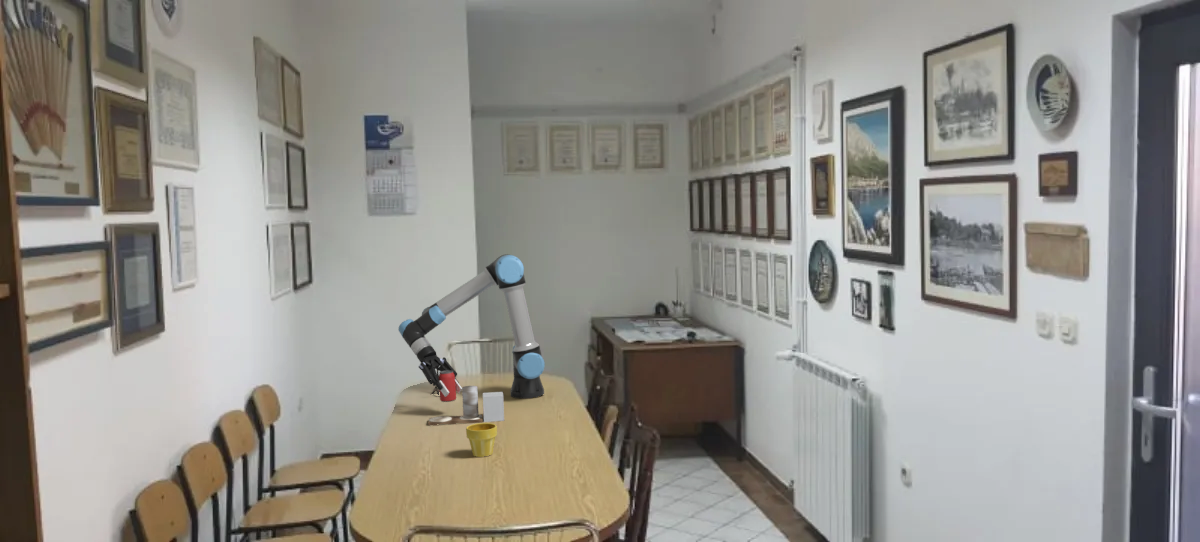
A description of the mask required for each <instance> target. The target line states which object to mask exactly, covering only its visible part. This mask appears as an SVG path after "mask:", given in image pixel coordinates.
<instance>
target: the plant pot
mask: <svg viewBox="0 0 1200 542" xmlns="http://www.w3.org/2000/svg"><path fill="white" fill-rule="evenodd" d="M465 432H466V438H467V439H468V441H469V445H470V449H471V452H472V456H473V457H475V456H476V458H485V457H484V456H487V457H490V456H492V455H493V454H494V448H495V446H494V445H495V443H496V442H495V440H496V438H497V435H498V426H497V425H496V424H495V423H492V422H479V423H472V424H469V425H468V426H466V427H465ZM489 455H490V456H489Z"/></svg>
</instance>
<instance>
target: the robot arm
mask: <svg viewBox="0 0 1200 542" xmlns="http://www.w3.org/2000/svg"><path fill="white" fill-rule="evenodd" d="M524 271H525V267H524V264H523V262H522V261H521V259H520V258H519V257H517V256H515V255H513V254H508V253H507V254H502V255H499V256H498V257H496V259H495V260H494V261H492V262H491V263H490V264H488V265H486V266H485V267H484V270H483V271H482V272H480V273H479V274H478V275H477V274H476V275H475V276H474V277H473V278H471V279H469V280H468V281H467V282H465V283H463V284H462V285H460V286H459V287H457V288H456V289H454V290H453V291H451V292H450V293H448V294H446V295H445V296H444V297H442V298H440V299H439V300H438V301H436V302H435V303H433V304H431V305H430V306H427V307H426V308H424V309H423V310H422V312H421V315H420V316H418V318H417V319H415V320H414V319H411V318H409V319H408V318H407V319H406V320H403V321H402V322H401V323H400V324H399V326H398V332H399V334H400V336H401V337H402V339H403V340H404V342H405V343H406V344H407V345H408V347H409V348H410V349H411V351H412V352H413V353H414V355H415V356H416V358H417V359H418V361H419V362H420V364H419V365H418V368H419V369H420V370H421V372H422V373H423V375H424V377H425V378H426V381H428V383H429V385H432V386H434V387H435V386H437V388H438V389H439V390H441V392H442V393H443V395H444V396H445V397H447V395H448V394H449V391H448V390H447V388H446V387H445V385H444V384H443V383H442V381H441V380H440V381H439V379H438V376H437V370H438V372H441V371H446V370H452V371H453V373H454V375H455V386H456V393H458V394H460V393H462V386H461V384H460V382H459V380H457V378H456V377H457V376H458V373H457V372H456V370H455V369H454V368H453V367H452V366H451V364H450V363H449V362H448V360H447V359H446V357H442V358H441V357H439V356H438V355H437V351H436V349H434V347H433V346H432V344H431V343H430V342H429V340H428V339H427V338H426V335H427V334H429V333H430V332H431V331H432V330H434V329H435V328H437V326H439V325H441V324H442V323H443V322H444V321H445V320H446V319H447V316H449V315H450V314H452V313H453V312H455V311H456V310H458V309H460V308H461V307H462V306H464V305H466V304H467V303H468V302H470V301H472V300H474V298H475V299H476V297H478V296H479V295H481V294H482V293H484V292H485V291H487V290H488V289H490V288H491V287H494V286H495V287H497V286H498V290H500V291H502V292H503V295H504V296H503V297H504V300H505V304H506V308H507V309H506V310H507V313H508V319H509V322H510V327H511V331H512V336H513V340H514V344H515V345H513V347H512V352H511V353H512V365H513V369H512V370H513V380H512V384H511V388H510V397H511V398H515V399H533V397H535V398H539V397H538V396H540V397H542V396H541V395H543V394H544V395H545V389H544V386H543V383H542V380H541V378H540V377H541V375H542V374H543V372H544V370H545V365H546V363H545V360H544V358H543V356H542V351H541V346H540V344H539V343H538V342H537V341H536V339H535V335H534V331H533V326H532V322H531V318H530V313H529V309H528V304H527V299H526V295H525V290H524V287H525V286H526V283H527V282H526V279H525V274H524ZM544 395H543V396H544Z"/></svg>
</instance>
